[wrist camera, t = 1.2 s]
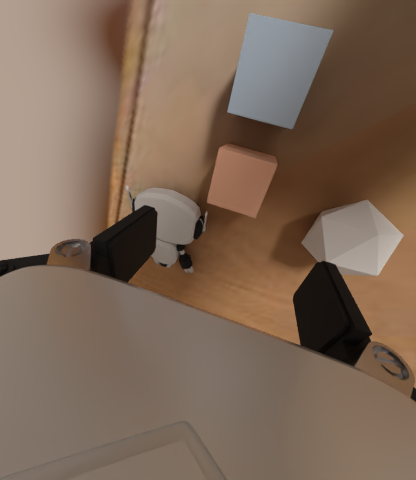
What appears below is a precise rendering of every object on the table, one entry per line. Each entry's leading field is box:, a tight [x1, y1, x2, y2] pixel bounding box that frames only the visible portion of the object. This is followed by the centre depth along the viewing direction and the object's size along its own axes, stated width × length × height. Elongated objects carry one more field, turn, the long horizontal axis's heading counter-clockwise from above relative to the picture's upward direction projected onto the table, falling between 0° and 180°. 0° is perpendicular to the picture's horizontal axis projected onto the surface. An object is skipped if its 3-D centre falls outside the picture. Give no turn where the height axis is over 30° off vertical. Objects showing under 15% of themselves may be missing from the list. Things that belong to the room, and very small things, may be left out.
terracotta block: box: [207, 143, 278, 218], centre depth 22 cm, size 6×6×6 cm
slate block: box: [227, 13, 334, 129], centre depth 17 cm, size 6×6×6 cm
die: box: [301, 200, 404, 276], centre depth 22 cm, size 8×9×10 cm
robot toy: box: [126, 186, 208, 273], centre depth 31 cm, size 12×4×15 cm
